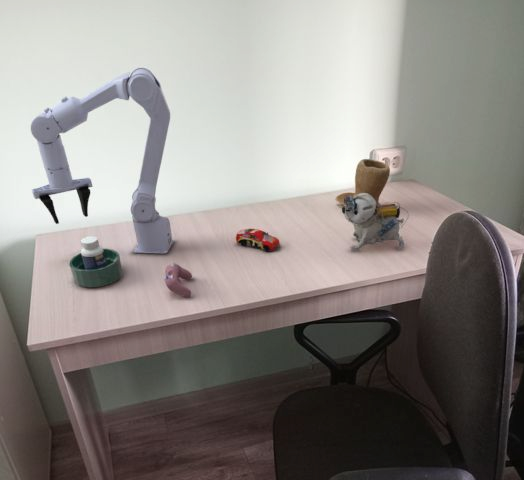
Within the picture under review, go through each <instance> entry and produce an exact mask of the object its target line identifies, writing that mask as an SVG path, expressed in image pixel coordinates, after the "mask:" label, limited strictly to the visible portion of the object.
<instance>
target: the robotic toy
mask: <svg viewBox="0 0 524 480" xmlns="http://www.w3.org/2000/svg"><path fill="white" fill-rule="evenodd" d="M388 203H389V201H386V202H385V204H380V205H379V206H378V205H377V202H376V201H375V199H374V198H373V197H372V196H371V195H369V194H367V193H360V194H357V195H355V196H354V198H352V197H351V195H350V197H345V198H344V204H345V205H346V207H345V206H342V208H341V213H342V214H343V217H344V219H346V220H347V222H349V223H351V224H352V225H353V228H354V231H353V233H352V235H353V237H355V240H356V241H357V243H358V244H357V245H351V246H349V249H350V251H351V250H352V251H359V250H360V249H362V248H363V247H364V246H365V245H374V244H376V243H380V244H381V243H385V242H390V241H396V242H398V245H397V249H398V250H401V249H403V247H404V246H405V240H404V238H403V237H402V236H400V233H399V231H400V229H402V228H403V226H404V225H405V223H407V221H408V219H409V216H410V215H409V212H408V211H406V209H405V208H403V207H401V206H400V203H399V202H397V201H395V203H389V204H388ZM396 204H398V205H396ZM376 205H377V206H376ZM401 209H402V210H404V211H406V213H407V215H408V216H407V218H406V220H405V222H404V218H401V219H399V218H400V214H401ZM374 211H375V213H374ZM400 225H401V227H400Z"/></svg>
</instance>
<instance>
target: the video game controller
mask: <svg viewBox="0 0 524 480" xmlns="http://www.w3.org/2000/svg"><path fill="white" fill-rule="evenodd" d="M164 270H165V271H164V275H165V278H164V283H165V285H166V287H167V289H168V290H169V291H171V292H173V293H175V294H176V295H179V296H180V297H184V298H189V297H191V295H192V291H191V290H190V288H188V287H187V286H185V285H183V284H182V281H181V279H182V280H185V281H186V280H187V281H189V280H192V278H193V275H192V272H190V271H189V270H187V269H186V268H184V267H182V266H181V265H179V264H178V263H175V262H173V263H170V264H168V265H167V266H166V267H165V269H164Z"/></svg>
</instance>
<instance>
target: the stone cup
mask: <svg viewBox="0 0 524 480" xmlns="http://www.w3.org/2000/svg"><path fill="white" fill-rule="evenodd" d="M356 165H357V166H356V168H355V176H354V188H355V189H354V192H343V193H340V194H338V195H336V196H335V201H336V202H338V203H339V204H341V205H342V206H343V207H345V208H346V205H345V204H344V198H345V197H350V195H351V197H352V198H354V196H355V195H357V194H360V193H367V194H369V195H371V196H372V197H373V198H374V199H375V201H376V202H377V205H378V206H379V205H381V203H379V200H380V196H381V194H382V192H383V191H384V189H385V187H386V185H387V183H388V181H389V178H390V175H391V174H390V173H391V168H390V166H389V165H388V164H387V163H385V162H382V161H380V160H375V159H371V158H363V159H361V160H360V161H358V163H357V164H356ZM377 205H376V206H377ZM374 213H375V211H374Z"/></svg>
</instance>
